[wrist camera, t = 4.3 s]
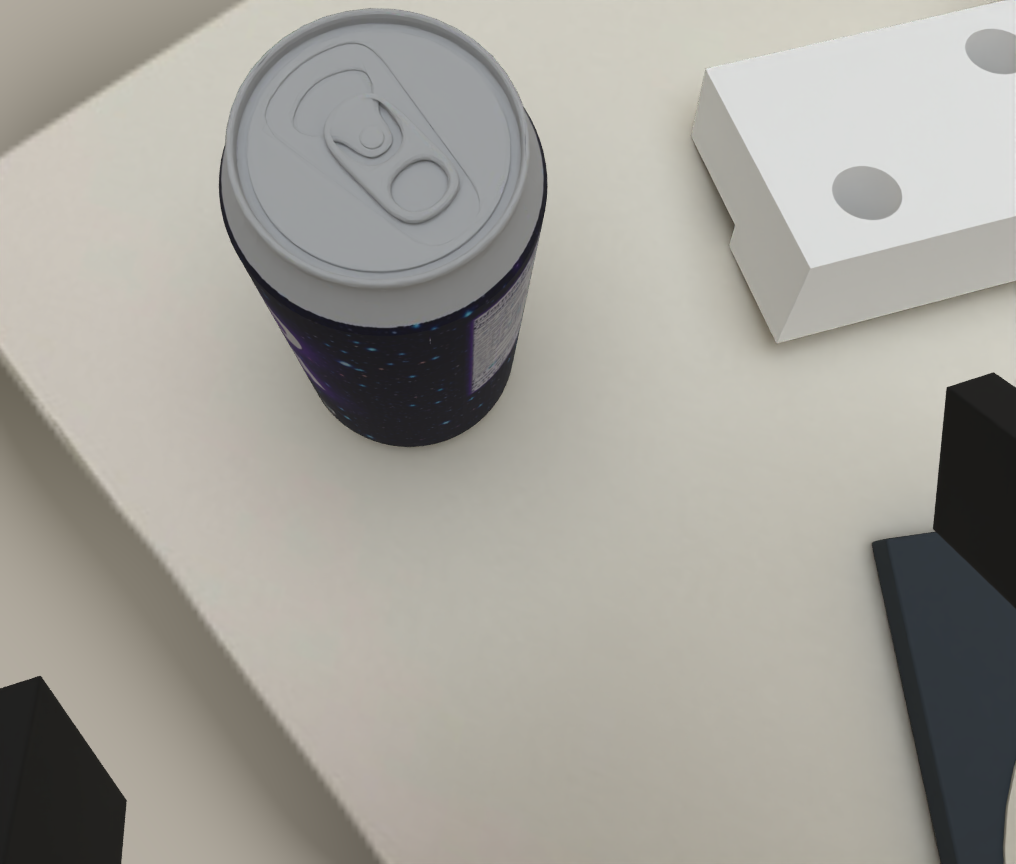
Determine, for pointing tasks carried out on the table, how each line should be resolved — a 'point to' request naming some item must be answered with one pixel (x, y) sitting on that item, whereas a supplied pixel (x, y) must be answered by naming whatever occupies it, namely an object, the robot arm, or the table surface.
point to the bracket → (869, 168)
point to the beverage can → (388, 216)
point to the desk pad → (956, 692)
